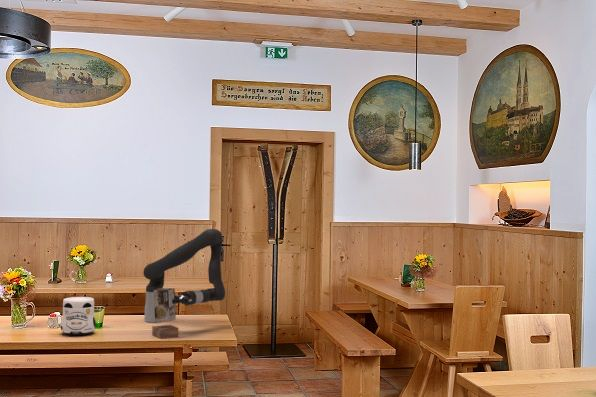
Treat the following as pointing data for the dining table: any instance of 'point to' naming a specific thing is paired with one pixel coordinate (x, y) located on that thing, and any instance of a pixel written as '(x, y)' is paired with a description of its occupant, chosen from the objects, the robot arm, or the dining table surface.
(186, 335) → the dining table surface
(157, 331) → the walnut block
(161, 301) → the coffee box
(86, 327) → the milk container
